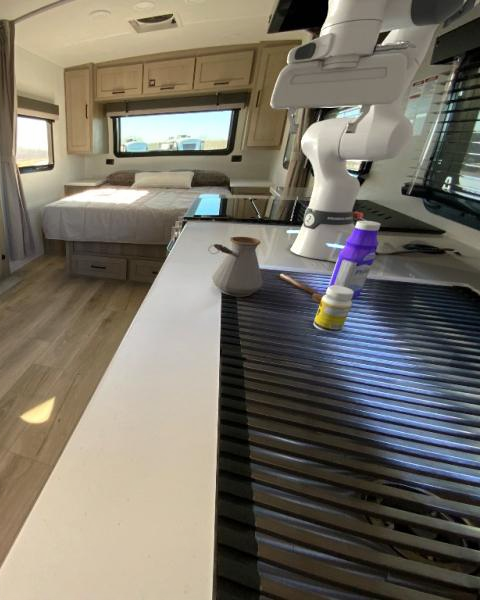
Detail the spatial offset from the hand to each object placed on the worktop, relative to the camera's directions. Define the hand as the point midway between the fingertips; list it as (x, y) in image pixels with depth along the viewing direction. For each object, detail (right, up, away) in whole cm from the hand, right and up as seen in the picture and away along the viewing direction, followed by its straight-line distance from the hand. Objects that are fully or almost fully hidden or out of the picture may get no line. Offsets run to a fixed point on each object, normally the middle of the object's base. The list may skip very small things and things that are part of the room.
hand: (320, 133), depth 66 cm
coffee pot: (-13, -32, +14) cm, 38 cm away
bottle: (+15, -32, +14) cm, 38 cm away
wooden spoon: (+8, -31, +17) cm, 36 cm away
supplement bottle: (+2, -39, 0) cm, 39 cm away
